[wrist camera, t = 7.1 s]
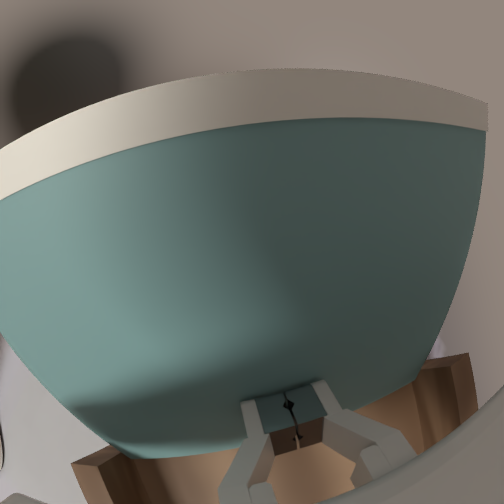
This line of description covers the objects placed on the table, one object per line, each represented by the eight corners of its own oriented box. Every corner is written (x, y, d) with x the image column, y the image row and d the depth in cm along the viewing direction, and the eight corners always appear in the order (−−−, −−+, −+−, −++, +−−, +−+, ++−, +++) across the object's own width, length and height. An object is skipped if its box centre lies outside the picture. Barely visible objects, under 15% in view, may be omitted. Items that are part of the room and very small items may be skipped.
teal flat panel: (131, 460, 10) (-64, 198, 3) (130, 439, 11) (-36, 182, 4) (415, 381, 12) (487, 103, 5) (403, 364, 13) (457, 98, 6)
